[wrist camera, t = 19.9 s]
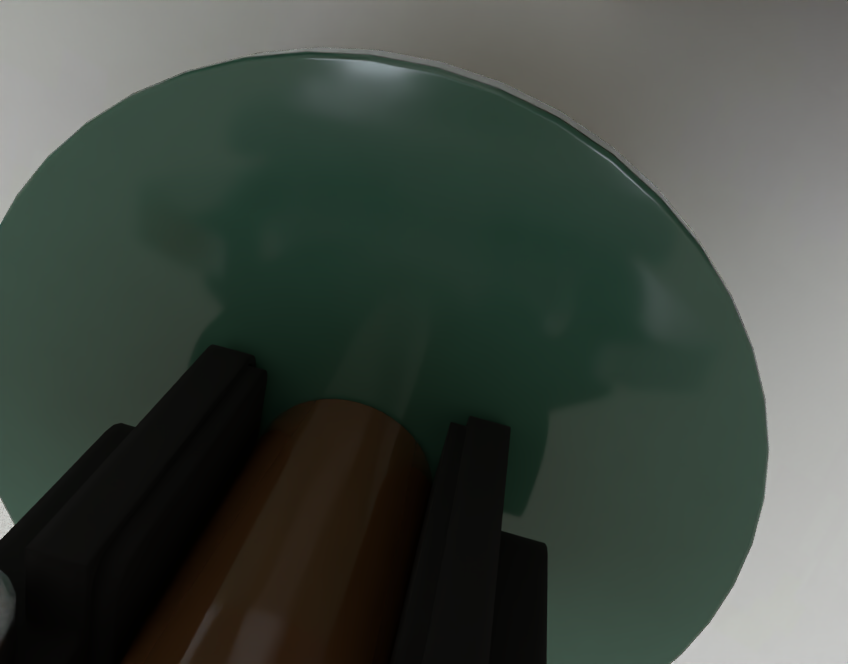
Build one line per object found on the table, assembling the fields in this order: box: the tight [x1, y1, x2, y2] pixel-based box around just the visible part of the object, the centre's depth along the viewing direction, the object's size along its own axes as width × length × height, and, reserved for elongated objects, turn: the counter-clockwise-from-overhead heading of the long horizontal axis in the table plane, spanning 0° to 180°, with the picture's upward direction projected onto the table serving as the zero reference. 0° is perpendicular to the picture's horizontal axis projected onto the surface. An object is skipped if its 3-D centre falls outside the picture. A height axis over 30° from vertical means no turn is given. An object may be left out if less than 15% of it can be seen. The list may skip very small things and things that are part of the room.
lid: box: [0, 47, 769, 664], centre depth 9 cm, size 11×11×6 cm
